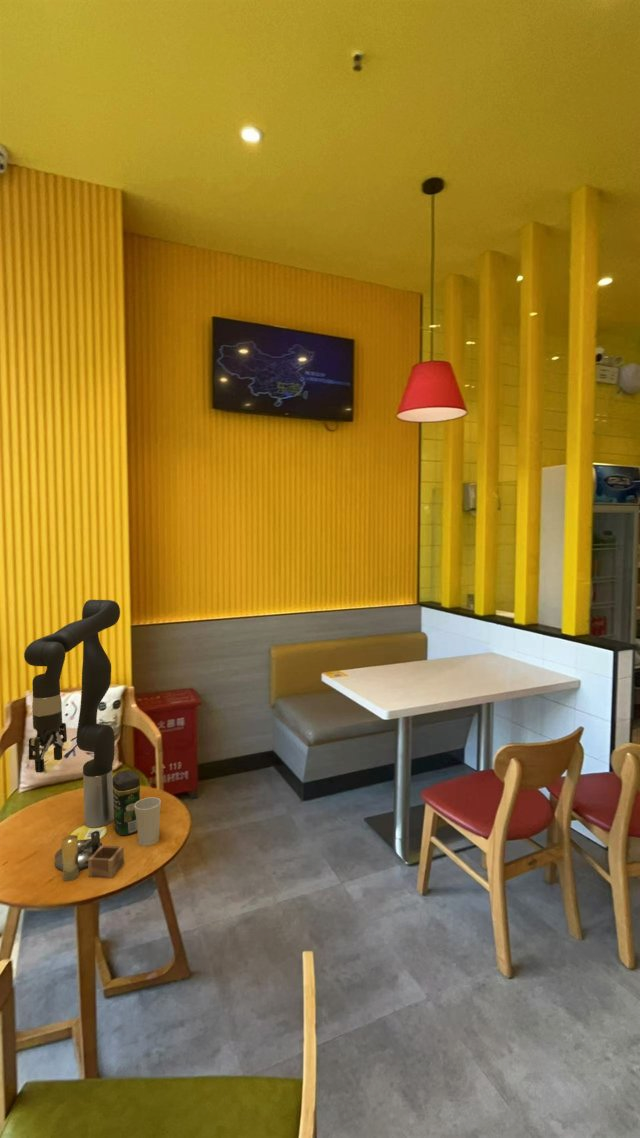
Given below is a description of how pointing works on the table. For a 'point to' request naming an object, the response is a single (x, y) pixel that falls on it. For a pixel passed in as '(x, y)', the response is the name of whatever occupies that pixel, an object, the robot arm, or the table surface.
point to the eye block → (106, 861)
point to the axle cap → (81, 845)
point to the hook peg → (70, 858)
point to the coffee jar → (125, 801)
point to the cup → (148, 820)
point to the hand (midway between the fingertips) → (49, 765)
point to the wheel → (82, 851)
